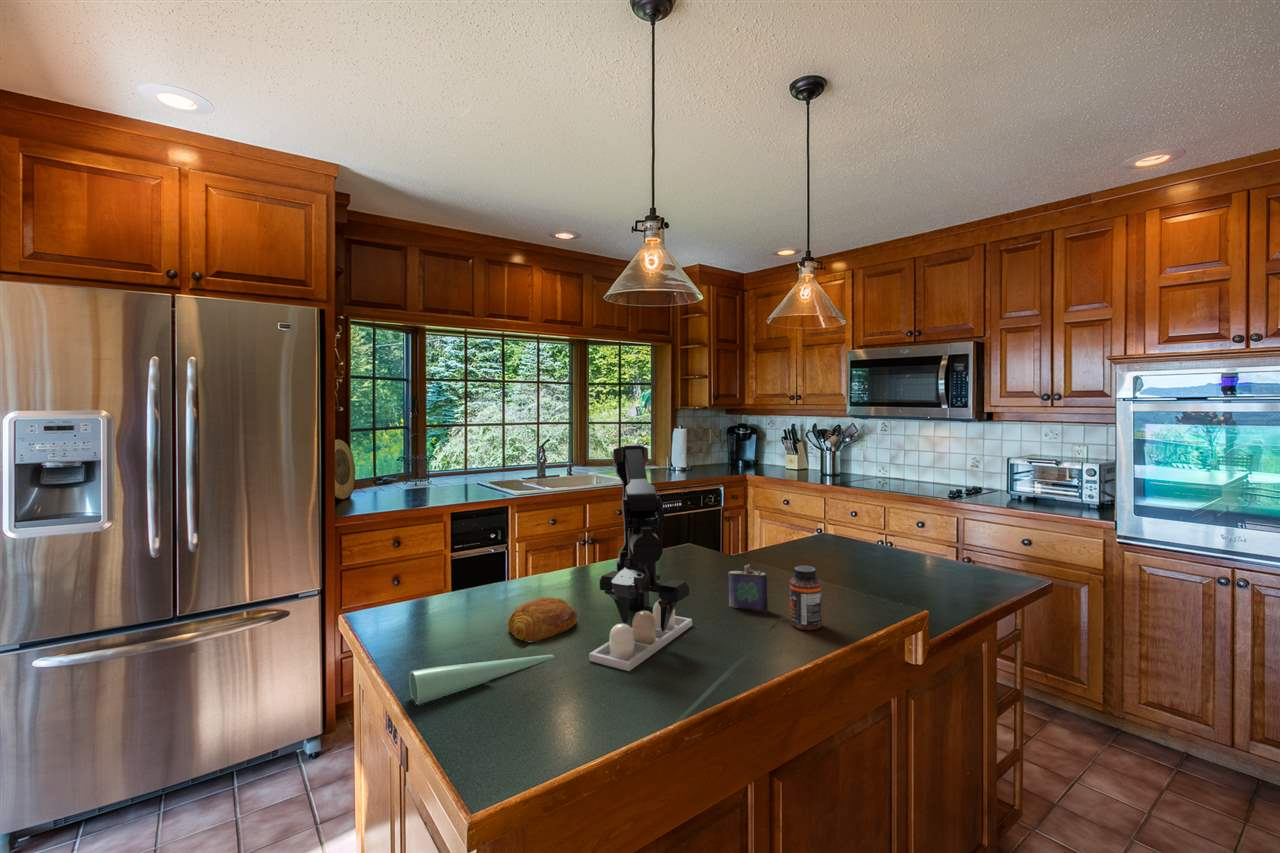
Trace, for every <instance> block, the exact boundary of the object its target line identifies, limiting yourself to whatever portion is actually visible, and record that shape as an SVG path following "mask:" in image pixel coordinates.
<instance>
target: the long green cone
mask: <svg viewBox="0 0 1280 853" xmlns="http://www.w3.org/2000/svg"><path fill="white" fill-rule="evenodd" d="M554 658H555V655H554V654H544V655H543V654H542V655H535V656H527V657H526V656H524V657H516V658H508V659H497V660H489V661H481V662H471V663H461V664H460V663H459V664H452V665H444V666H435V667H428V668H422V669H416V670H411V671H410V672H409V674H408V683H409V684H408V685H409V692H410V696H411V699H412V698H413V699H414V698H415V697H418V699H417V702H416V704H419V703H422V702H426V701H429V700H433V699H436V698H439V697H442V696H445V695H449V694H452V693H455V692H458V691H461V690H464V689H467V688H470V687H473V686H476V685H479V684H482V683H485V682H489V681H491V680H494V679H497V678H500V677H502V676H506V675H509V674H512V673H515V672H518V671H521V670H524V669H526V668H529V667H533V666H536V665H538V664H541V663H544V662H546V661H549V660H552V659H554ZM489 683H490V682H489ZM416 704H415V705H416Z"/></svg>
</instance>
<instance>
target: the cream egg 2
mask: <svg viewBox="0 0 1280 853" xmlns="http://www.w3.org/2000/svg"><path fill="white" fill-rule="evenodd" d="M660 600H661V599H659V600H657V601H655V602H654V604H653V608H652V614H653V616H654V618H655V621H656V628H659V629H661V607H660V605H659V604H658V601H660ZM675 608H676V607H675ZM675 608H674V610H673V612H672V615H671V617H670V620H669V622H668V625H667V628H666V630H669V631H671V630H673V629H674V628H675V616H676V610H675Z"/></svg>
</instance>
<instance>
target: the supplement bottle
mask: <svg viewBox="0 0 1280 853" xmlns="http://www.w3.org/2000/svg"><path fill="white" fill-rule="evenodd" d="M816 576H817V570H816V568H815V567H813V566H810V565H798V566H794V576H793V577H792V578H791V579H790V580H789V611H790V612H789V616H790V620H789V621H790V625H791V626H793V627H794V628H796V629H798V630H802V631H815V630H818V629H820V628H821V627H822V624H823V623H822V622H823V620H822V619H823V618H822V616H823V614H822V613H823V610H822V608H823V607H822V603H823V602H822V582H821V580H820V579H819V578H817V577H816Z"/></svg>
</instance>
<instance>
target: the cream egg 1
mask: <svg viewBox="0 0 1280 853" xmlns="http://www.w3.org/2000/svg"><path fill="white" fill-rule="evenodd" d="M608 642H610V657H614V658H618V659H622V660H626V661H628V660H630V659H631V658H633V657H634V656H635V655H634V633H633V630H632V627H631V626H630V625H629V624H627V623H626V624H624V623H623V622H622V623H616V624H615V625H614V626H613V627H612V628H611V630H610V631H609V641H608Z"/></svg>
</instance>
